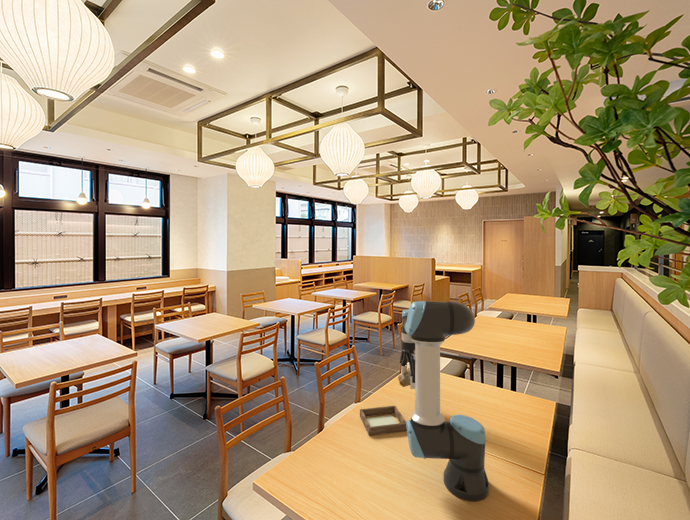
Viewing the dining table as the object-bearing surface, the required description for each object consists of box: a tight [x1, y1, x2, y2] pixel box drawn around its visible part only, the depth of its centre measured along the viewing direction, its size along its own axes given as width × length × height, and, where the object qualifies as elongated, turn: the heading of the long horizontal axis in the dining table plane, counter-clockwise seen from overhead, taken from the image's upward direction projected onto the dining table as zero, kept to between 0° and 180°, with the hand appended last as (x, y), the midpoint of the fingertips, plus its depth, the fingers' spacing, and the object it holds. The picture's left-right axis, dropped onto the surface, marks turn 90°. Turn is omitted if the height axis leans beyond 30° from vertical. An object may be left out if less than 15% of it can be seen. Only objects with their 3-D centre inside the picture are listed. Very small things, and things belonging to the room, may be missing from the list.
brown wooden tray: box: [359, 405, 407, 437], centre depth 156 cm, size 16×18×4 cm
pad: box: [366, 414, 398, 427], centre depth 156 cm, size 11×13×1 cm
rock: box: [397, 367, 411, 388], centre depth 169 cm, size 12×10×10 cm
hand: (408, 383), depth 169 cm, fingers closed on rock, 11 cm apart
